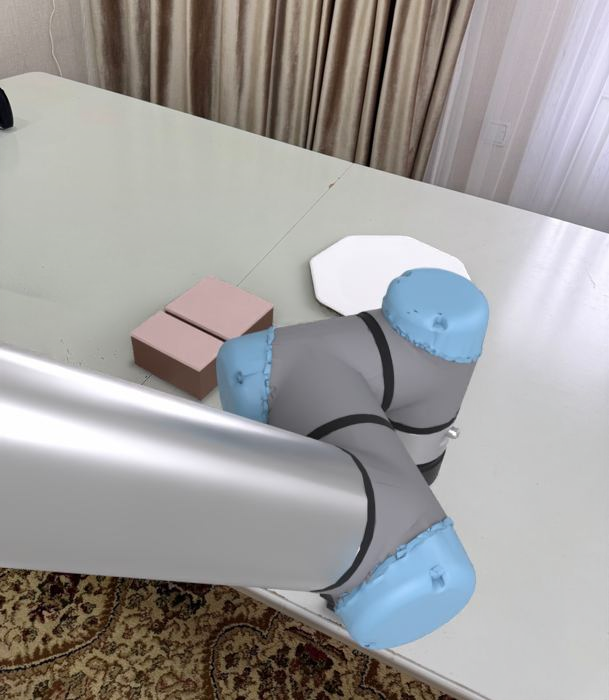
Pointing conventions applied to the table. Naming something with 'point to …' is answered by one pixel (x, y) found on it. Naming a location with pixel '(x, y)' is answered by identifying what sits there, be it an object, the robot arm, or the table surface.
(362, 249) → the plate
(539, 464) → the table surface
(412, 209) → the table surface
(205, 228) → the table surface
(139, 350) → the cake slice
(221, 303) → the cake
